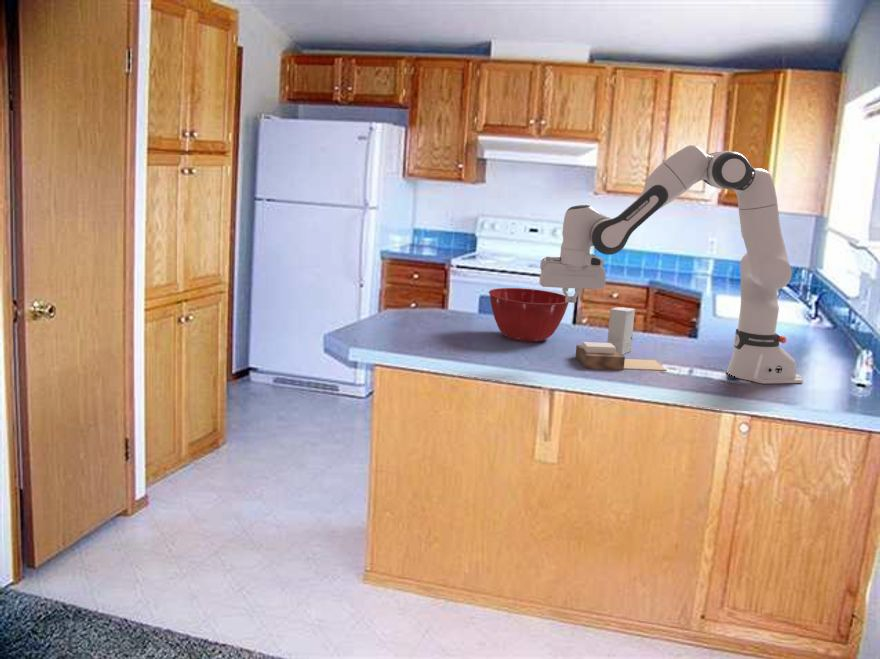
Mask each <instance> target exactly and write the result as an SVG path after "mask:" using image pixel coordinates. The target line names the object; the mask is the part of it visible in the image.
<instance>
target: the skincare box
mask: <svg viewBox="0 0 880 659" xmlns="http://www.w3.org/2000/svg"><path fill="white" fill-rule="evenodd" d="M635 312H636V309H635V308H629V307H623V306H622V307H621V306H618V307H613V308H610V310H609V317H608V318H609V320H608V331H607V341H606V343H611V344H612V345H613V346H615V347H616V350H617V351H619V352H620V353H621V354H622V355H623V356H624V355H625V354H628V353H630V352H631V351H632V346H633V345H632V344H633V334H634V325H635V324H634V322H635V321H634V320H635Z"/></svg>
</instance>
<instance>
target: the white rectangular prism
mask: <svg viewBox="0 0 880 659" xmlns="http://www.w3.org/2000/svg"><path fill="white" fill-rule="evenodd" d="M582 345H583V347H582V348H583V349H584V350H585V351H586V352H587V353H609V354H615V351H616V347H615V346H613V345H612V344H611V343H607V342H593V341H591V342H590V341H583V342H582Z"/></svg>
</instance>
